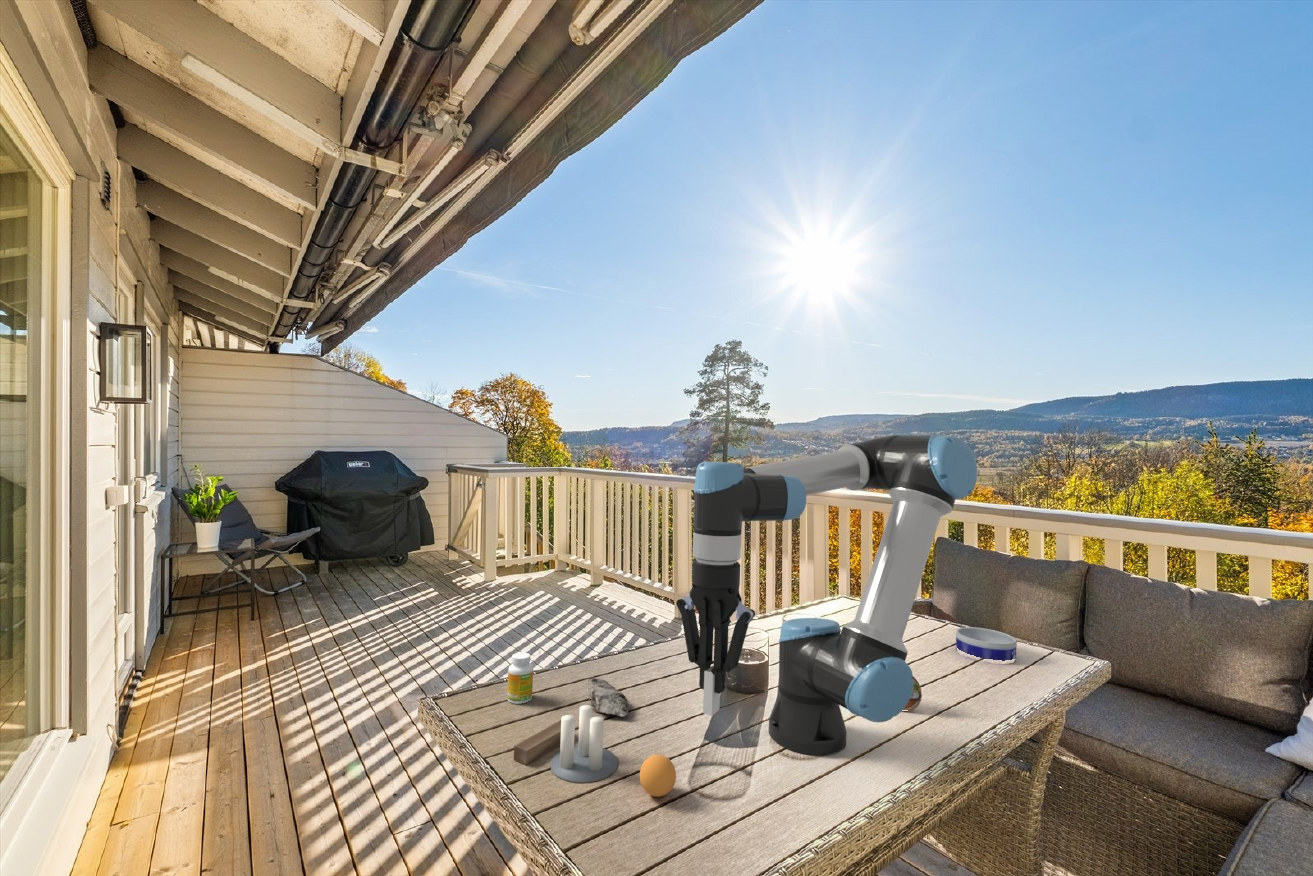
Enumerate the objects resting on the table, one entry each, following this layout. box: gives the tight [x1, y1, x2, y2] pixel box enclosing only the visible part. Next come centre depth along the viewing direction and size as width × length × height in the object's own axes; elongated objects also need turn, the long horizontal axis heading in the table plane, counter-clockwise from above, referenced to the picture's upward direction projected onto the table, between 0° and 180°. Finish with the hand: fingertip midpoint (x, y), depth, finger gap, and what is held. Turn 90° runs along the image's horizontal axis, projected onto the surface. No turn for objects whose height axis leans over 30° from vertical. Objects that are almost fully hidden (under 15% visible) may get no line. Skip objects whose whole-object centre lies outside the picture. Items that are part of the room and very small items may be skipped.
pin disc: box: [549, 745, 619, 784], centre depth 104 cm, size 12×12×1 cm
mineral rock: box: [586, 677, 629, 717], centre depth 128 cm, size 15×8×4 cm, turn 16°
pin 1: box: [559, 714, 576, 769], centre depth 103 cm, size 2×2×8 cm
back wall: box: [513, 719, 561, 766], centre depth 110 cm, size 3×13×2 cm, turn 147°
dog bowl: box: [955, 626, 1018, 661], centre depth 169 cm, size 15×15×6 cm
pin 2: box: [577, 704, 594, 757], centre depth 108 cm, size 2×2×8 cm
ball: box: [639, 754, 677, 798], centre depth 96 cm, size 6×6×6 cm
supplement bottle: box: [506, 652, 534, 705], centre depth 130 cm, size 5×5×10 cm
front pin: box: [589, 716, 605, 771], centre depth 103 cm, size 2×2×8 cm
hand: (711, 711), depth 91 cm, fingers closed
